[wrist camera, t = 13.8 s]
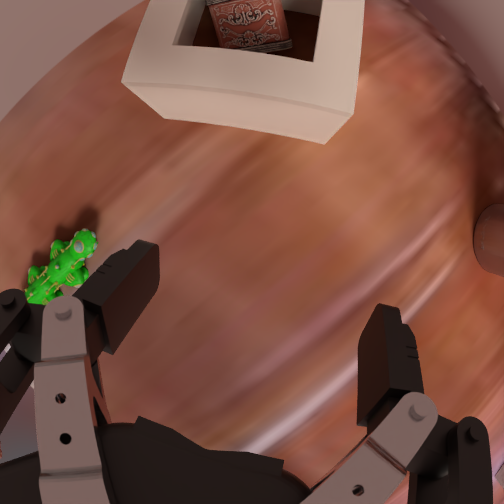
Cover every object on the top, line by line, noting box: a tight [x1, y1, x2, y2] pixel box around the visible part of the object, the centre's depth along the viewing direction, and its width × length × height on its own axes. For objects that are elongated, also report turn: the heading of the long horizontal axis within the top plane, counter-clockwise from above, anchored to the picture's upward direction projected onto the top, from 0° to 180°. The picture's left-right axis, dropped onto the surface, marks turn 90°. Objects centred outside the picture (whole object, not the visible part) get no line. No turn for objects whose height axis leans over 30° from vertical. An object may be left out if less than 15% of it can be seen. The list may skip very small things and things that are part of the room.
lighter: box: [205, 0, 293, 53], centre depth 26 cm, size 8×3×10 cm
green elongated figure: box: [24, 229, 98, 305], centre depth 34 cm, size 7×18×4 cm, turn 126°
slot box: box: [121, 0, 365, 144], centre depth 26 cm, size 18×18×12 cm
